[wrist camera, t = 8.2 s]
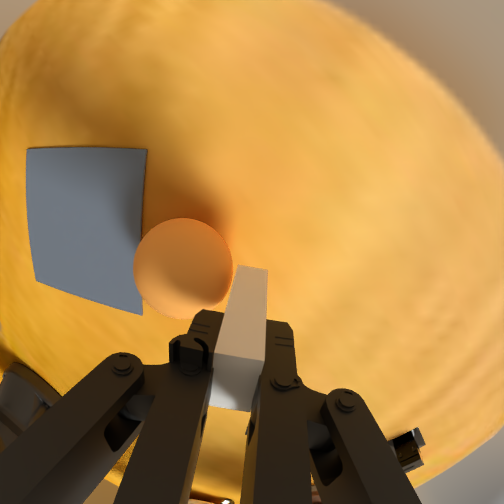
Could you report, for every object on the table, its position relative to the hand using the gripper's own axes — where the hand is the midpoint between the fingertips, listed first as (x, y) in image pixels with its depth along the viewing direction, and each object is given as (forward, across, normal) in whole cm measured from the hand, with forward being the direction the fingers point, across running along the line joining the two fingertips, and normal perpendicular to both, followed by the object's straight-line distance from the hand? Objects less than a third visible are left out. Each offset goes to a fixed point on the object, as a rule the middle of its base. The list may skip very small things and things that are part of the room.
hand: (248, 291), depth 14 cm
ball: (+1, -4, 0) cm, 4 cm away
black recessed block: (+4, +24, -22) cm, 33 cm away
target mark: (+4, -14, 0) cm, 14 cm away
